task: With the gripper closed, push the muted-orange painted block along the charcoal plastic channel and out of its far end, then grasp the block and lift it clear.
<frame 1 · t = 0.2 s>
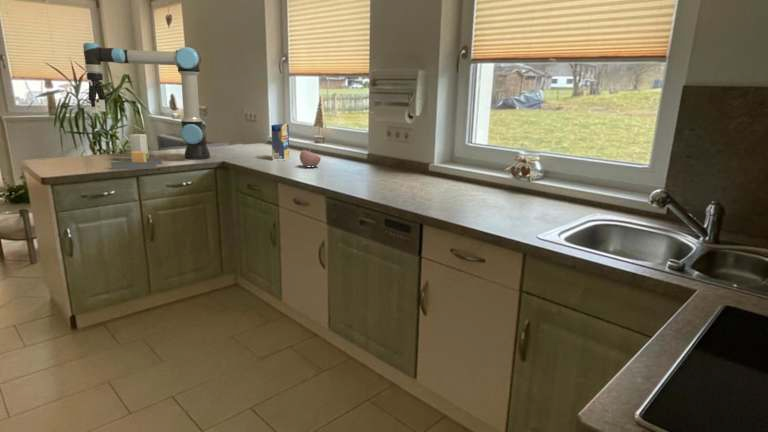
hand: (99, 112, 270), 28 cm above the worktop, fingers open, 13 cm apart
channel: (137, 166, 265), on the worktop
orange block: (139, 166, 265), on the worktop
skincare box: (140, 161, 282), on the worktop
beverage box: (280, 160, 304), on the worktop
reddish-brown rounded lump: (310, 167, 281), on the worktop
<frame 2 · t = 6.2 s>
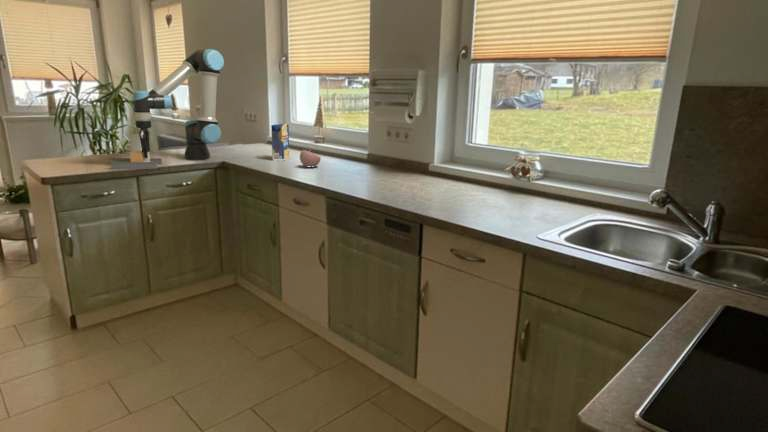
hand: (147, 163, 265), 2 cm above the worktop, fingers closed
orange block: (138, 166, 265), on the worktop, touching gripper
everything else where it was.
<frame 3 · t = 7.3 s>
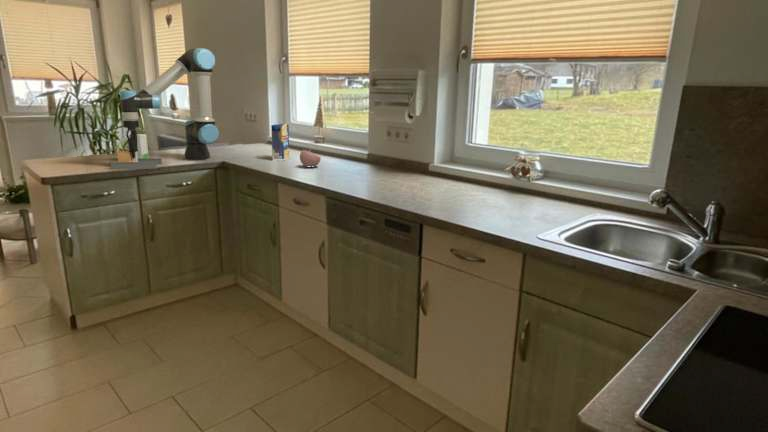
hand: (134, 163, 264), 2 cm above the worktop, fingers closed
orange block: (126, 166, 263), on the worktop, touching gripper
everything else where it was.
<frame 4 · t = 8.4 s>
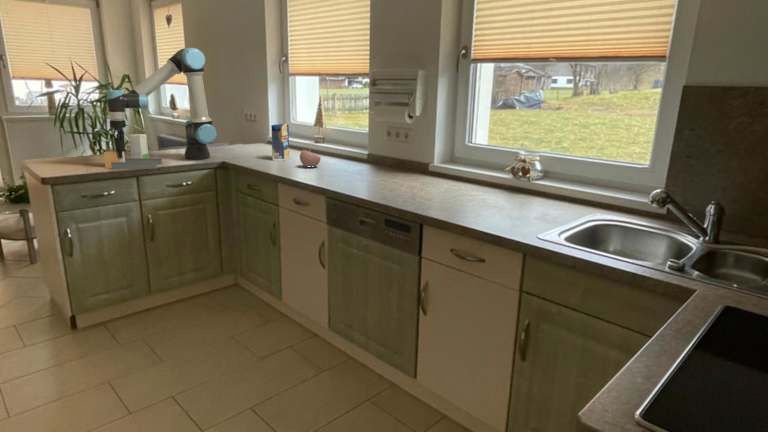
hand: (122, 163, 262), 2 cm above the worktop, fingers closed
orange block: (113, 166, 262), on the worktop
everything else where it was.
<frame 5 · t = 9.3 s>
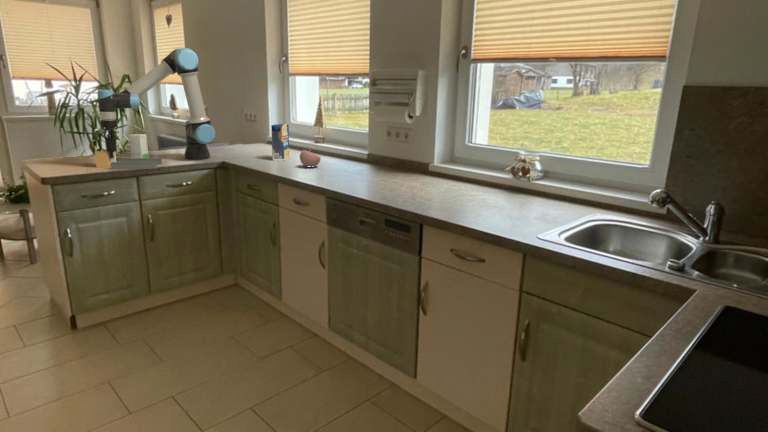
hand: (113, 163, 261), 2 cm above the worktop, fingers closed
orange block: (104, 166, 261), on the worktop, touching gripper
everything else where it was.
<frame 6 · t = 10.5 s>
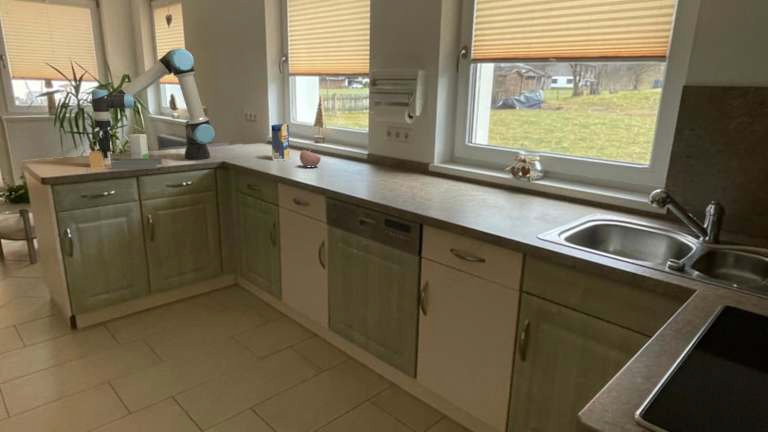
hand: (107, 163, 261), 1 cm above the worktop, fingers closed
orange block: (98, 166, 260), on the worktop, touching gripper
everything else where it was.
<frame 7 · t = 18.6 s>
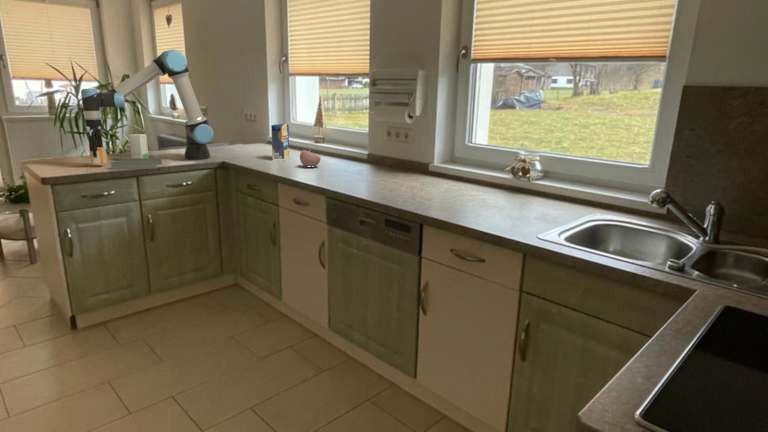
hand: (98, 162, 260), 2 cm above the worktop, fingers closed on orange block, 6 cm apart
orange block: (99, 162, 260), point 2 cm above the worktop, touching gripper
everything else where it was.
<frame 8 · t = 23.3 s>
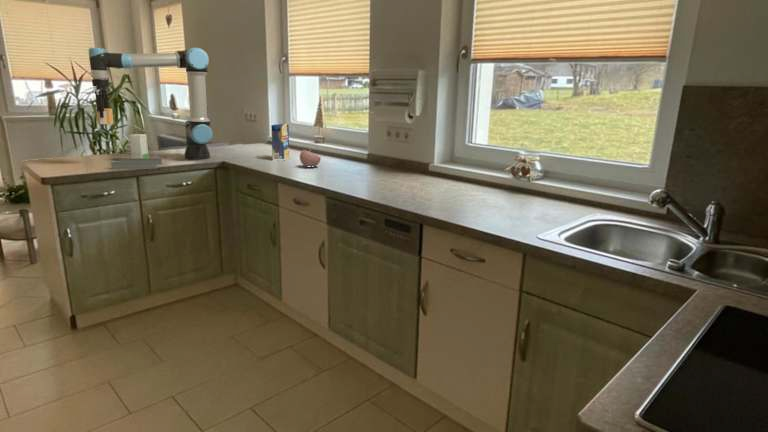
hand: (105, 123, 259), 23 cm above the worktop, fingers closed on orange block, 6 cm apart
orange block: (105, 123, 259), point 23 cm above the worktop, touching gripper
everything else where it was.
at the end: orange block inside the target area (5.4 cm from its centre), point 22.6 cm above the worktop; the gripper is holding orange block; orange block tilted 1° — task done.
